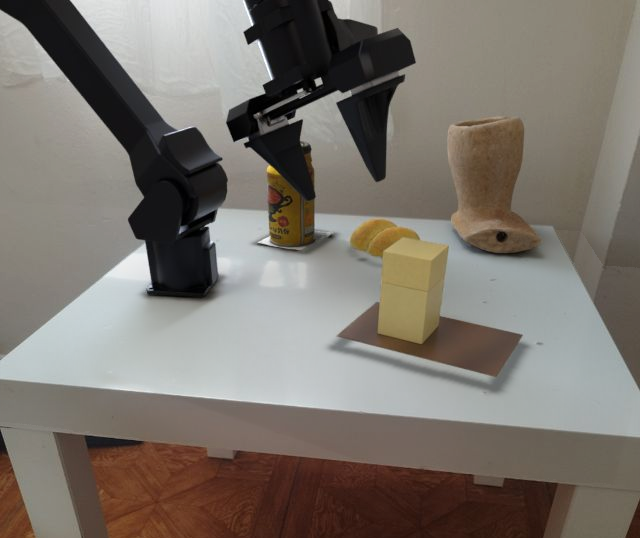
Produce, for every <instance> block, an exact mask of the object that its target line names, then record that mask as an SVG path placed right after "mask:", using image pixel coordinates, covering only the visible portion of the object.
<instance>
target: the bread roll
mask: <svg viewBox="0 0 640 538" xmlns="http://www.w3.org/2000/svg"><path fill="white" fill-rule="evenodd" d="M403 237H405V238H410V239H416V240H421V238H420V236H419V234H418V233H417V232H416V231H415V230H413V229H411V228H408V227H403V226H398V225H397V224H396V223H394V222H393V221H391V220H388V219H385V218H377V217H376V218H371V219H367V220H366V221H364V222H363V223H361V224H360V225H358V226H357V227H356V228H355V229H354V230H353V232H352V233H351V234H350V238H349V244H350V246H351V247H352V248H353V249H355V250H358V251H362V252H367V253H368V254H369V255H371V256H374V257H378V258H379V257H380V258H383V251H384V250H386V249H387V248H389V247H390V246H391V245H393V244H394V243H396V242H397V241H398V240H400V239H401V238H403Z"/></svg>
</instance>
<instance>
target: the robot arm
mask: <svg viewBox="0 0 640 538" xmlns="http://www.w3.org/2000/svg"><path fill="white" fill-rule="evenodd" d="M242 2H243V5H244V8H245V11H246V13H247V16H248V18H249V21H250V24H251V26H249V27H248V28H247V29H245V30H244V31H242V33H243V37H244V38H245V41H246V44H247V46H250V45H253V44H257V43H258V47H259V49H260V52H261V54H262V58H263V61H264V63H265V67H266V68H267V72H268V75H269V77H270V80H269V81H267V82H265V83H264V84H262V88H263V91H264V93H262V94H260V95H257V96H254V97H251V98H249V99H246V100H245V101H243V102H241V103H239V104H237V105H235V106H233V107H232V108H229V110H228V112H227V115H226V119H225V124H226V126H227V129H228V132H229V135H230V137H231V139H232V142H233V143H237V142H240V141H241V140H245V139H247V140H248V141H245V142H243V146H244V149H251V150H252V151H254V152H255V153H256V154H257V155H258V156H259V157H260V158H261V159H262V160H264V161H265V162H266V163H267V165H271V166H272V167H273V168H274V169H275V170H276V171H277V172H278V173H279V174H280V175H281V176H282V177H283V178H284V179H285V180H286V181H287V182H288V183H289V184H290V185H291V186H292V187H293V188H294V189H295V190H296V191H297V192H298V193H299V194H300V195H301V196H302V197H303V198H304V199H305V200H306V201H307V202H308V201H311V200H313V199H316V198H317V195H316V190H315V187H314V186H315V185H314V186H313V181H312V178H311V175H310V172H309V168H308V165H307V162H306V159H305V155H304V152H303V149H302V146H301V142H300V141H301V135H302V130H303V125H304V124H303V123H304V119H303V118H300V119H298V120H296V121H293V122H291V123H289V121H290V120H292V119H295V118H296V113H297V110H299V109H302V108H304V107H306V106H309V105H310V104H312V103H314V102H317V101H319V100H321V99H323V98H325V97H327V96H330V95H332V94H334V93H336V92H338V91H339V92H340V93H341V94H345V93H348V92H350V96H348V97H346V98H343V99H341V100H339V101H336V102H335V104H336V107H337V109H338V111H339V113H340V116H341V118H342V119H343V121H344V124H345V126H346V128H347V130H348V132H349V133H350V137H351V138H352V140H353V143H354V144H355V146H356V148H357V150H358V153H359V156H360V157H361V159H362V162H363V163H364V165H365V168H366V169H367V171H368V172H369V174H370V175H371V177H372V179H373V180H374V182H375V183H380V182H382V181H384V180H385V179H386V177H387V148H388V147H387V146H388V145H387V143H388V123H389V122H388V121H389V120H388V119H389V111H390V106H391V102H392V100H393V97H394V95H395V92H396V91H397V89H398V86H399V85H400V84H403V83H404V82H405V80H406V73H404V74H401V75H400V73H399V72H400V71H402V70H404V69H406V68H409V67H411V66H413V65H416V63H417V61H416V57H415V53H414V50H413V45H412V42H411V40H410V39H409V37H408V36H407V35H406V34H405V33H404V32H402V30H401V29H399V27H396V28H393V29H390V30H387V31H386V30H385V31H384V32H380V33H378V32H379V31H378V30H379V29H378V27H377V26H375V25H372V24H369V23H365V22H362V21H359V20H355V19H350V18H339V17H338V15H337V14H336V12H335V9H334V5H333V2H332V1H330V0H242ZM0 11H1V12H3V13H4V14H6V15H8V16H9V17H11V18H12V19H14V20H16V21H17V22H19V23H20V24H22V25H23V26H24V27H25V28H26V29H27V31H28V32H29V33H30V34H31V36H32V37H33V38H34V39H35V41H36V42H37V43H38V44H39V46H40V47H41V48H42V49H43V51H45V53H46V54H47V55H48V57H49V58H50V59H51V60H52V61H53V63H54V64H55V65H56V66H57V68H58V69H59V70H60V71H61V72H62V74H63V75H64V76H65V77H66V79H67V80H68V81H69V82H70V83H71V86H73V87H74V89H75V90H76V91H77V92H78V94H79V95H80V96H81V97H82V99H83V100H84V101H85V102H86V103H87V105H88V106H89V107H90V108H91V110H92V111H93V112H94V113H95V115H96V116H97V117H98V118H99V119H100V121H101V122H102V123H103V124H104V126H105V127H106V128H107V129H108V131H109V132H110V133H111V134H112V136H113V137H114V138H115V139H116V140H117V141H118V143H119V144H120V146H121V147H122V148H123V149H124V150H125V152H126V153H127V155H128V158H129V162H130V166H131V170H132V175H133V178H134V183H135V185H136V187H137V188H138V190H139V192H140V193H141V195H142V196H143V198H142V200H140V202H139V203H138V205H137V206H136V207H135V208H134V210H132V213H131V214H130V215H129V216H128V218H127V222H128V224H129V227H130V229H131V231H132V233H133V236H134V238H135V239H136V240H139V241H144V244H145V250H146V255H147V263H148V269H149V275H150V282H151V283H150V284H149V285H148V286H147V287H146V289H145V290H146V291H145V292H146V294H148V295H159V296H160V295H161V296H173V297H174V296H175V297H177V296H178V297H191V298H195V297H196V298H203V297H206V295H207V293H208V292H209V291H210V289H211V288H212V286H213V285H214V284H215V282H216V281H217V280H218V278H219V271H218V270H219V269H218V258H217V257H218V256H217V247H216V243H215V241H211V233H210V227H209V226H208V225H210V224H213V223H215V221H216V219H217V215H218V210H219V208H220V207H221V206H222V205H223V204H224V202H225V201H226V199H227V195H228V182H229V179H228V176H227V173H226V171H225V169H224V168H223V166H222V165H221V163H220V162H221V161H223V157H222V156H221V155H219V154H218V153H217V152H215V151H214V150H213V149H212V148H211V147H210V145H209V144H208V142H207V140H206V138H205V137H204V135H203V133H202V132H201V131H200V130H199V129H198V127H197V126H195V125H193V126H190V127H185V128H183V129H180V130H178V129H177V128H176V127H174V126H172V125H170V124H169V123H168V122H167V121H166V120H165V119H164V118H163V117H162V115H161V114H160V113H159V112H158V110H157V109H156V108H155V107H154V105H153V104H152V102H151V101H150V100H149V99H148V98H147V96H146V95H145V94H144V93H143V90H141V89H140V87H139V86H138V84H137V83H136V82H135V81H134V80H133V78H132V77H131V76H130V75H129V73H128V71H126V69H125V68H124V67H123V65H122V64H121V63H120V62H119V61H118V59H117V58H116V57H115V55H114V54H113V53H112V51H111V50H110V48H108V46H107V45H106V44H105V43H104V41H103V40H102V39H101V37H100V36H99V35H98V33H97V32H96V31H95V30H94V29H93V27H92V26H91V24H90V23H88V20H86V18H85V16H83V15H82V13H81V12H80V11H79V10H78V8H77V7H76V6H75V4H74V3H73V2H72V0H0ZM318 79H320V80H321V84H319V85H317V84H316V80H318ZM299 90H300V92H298V91H299Z"/></svg>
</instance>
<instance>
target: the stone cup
mask: <svg viewBox="0 0 640 538" xmlns="http://www.w3.org/2000/svg"><path fill="white" fill-rule="evenodd" d="M524 142H525V126H524V122H523V120H522V119H521V118H520V117H519V116H517V115H515V116H513V117H511V116H507V115H499V116H491V117H484V118H480V119H468V120H462V121H457V122H454V123H452V124H451V125H449V128H448V130H447V142H446V145H447V160H448V165H449V168H450V171H451V175H452V179H453V182H454V187H455V192H456V197H457V203H458V205H457V207H458V208H457V211H455V212H454V213H452V214H451V217H450V223H451V225H452V227H453V228H454V230H455V231H456V233H457V234H458V235H459V236H460V238H461V240H463V241H464V242H465V243H467V244H469V245H470V246H472V247H475V248H478V249H480V250H483V251H486V252H490V253H493V254H510V253H512V254H515V253H519V252H525V251H528V250H531V249H535V248H537V247H539V246H540V245H541V244H542V243H543V241H542V238H541V237H540V236H539V234H538V233H537V231H535V230H534V228H533V227H532V226H530V225H529V223H528V222H527V221H526V220H525V219H524V218H523V217H522V216H520V215H519V214H518V213H516V212H514V211H512V200H513V194H514V190H515V187H516V183H517V180H518V177H519V175H520V171H521V168H522V163H523V157H524V145H525V144H524Z"/></svg>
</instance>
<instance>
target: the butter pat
mask: <svg viewBox="0 0 640 538" xmlns="http://www.w3.org/2000/svg"><path fill="white" fill-rule="evenodd" d="M449 249H450V245H449V244H443V243H438V242H433V241H427V240H422V239H420V240H416V239H410V238H405V237H403V238H401V239H400V240H398V241H397V242H396V243H394V244H393V245H391V246H390V247H389V248H387V249H386V250H384V251H383V257H382V265H381V279H380V283H381V282H384V283H388V284H393V285H398V286H403V287H407V288H412V289H417V290H422V291H426V292H428V291H429V290H430V289H431V288H432V287H433V286H434V285H436V284H437V283H438V282H439V281H440V280H441V279H442V278H443V277H444V276H445V277H446V272H447V266H448V265H447V264H448V256H449Z"/></svg>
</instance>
